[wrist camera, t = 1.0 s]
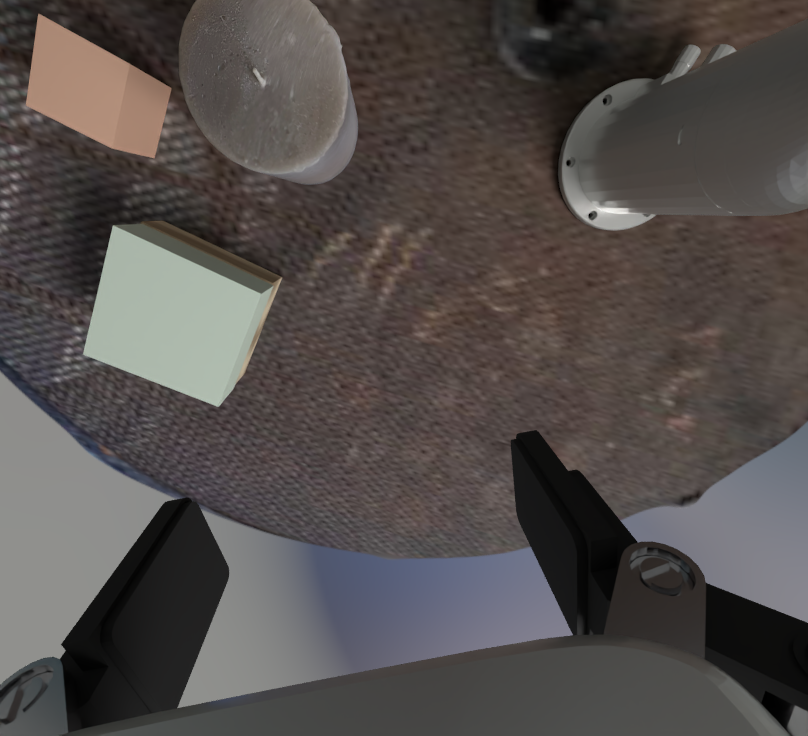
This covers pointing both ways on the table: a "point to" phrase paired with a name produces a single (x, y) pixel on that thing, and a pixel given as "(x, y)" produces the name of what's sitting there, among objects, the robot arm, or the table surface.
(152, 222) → the birch slab
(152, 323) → the sage slab
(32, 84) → the terracotta cube
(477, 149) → the table surface
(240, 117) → the pillar candle
